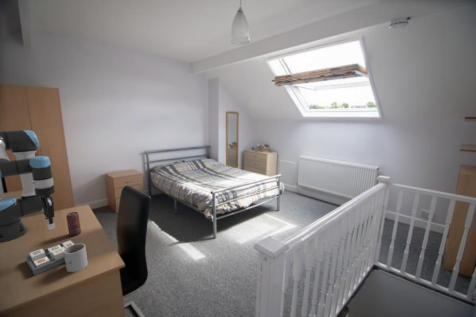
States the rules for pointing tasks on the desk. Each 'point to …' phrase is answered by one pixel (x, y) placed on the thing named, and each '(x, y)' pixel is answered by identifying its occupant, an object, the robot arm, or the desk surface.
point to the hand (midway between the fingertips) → (51, 228)
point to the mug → (75, 257)
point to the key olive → (53, 249)
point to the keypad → (53, 262)
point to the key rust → (41, 262)
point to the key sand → (58, 253)
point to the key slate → (37, 255)
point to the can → (73, 224)
